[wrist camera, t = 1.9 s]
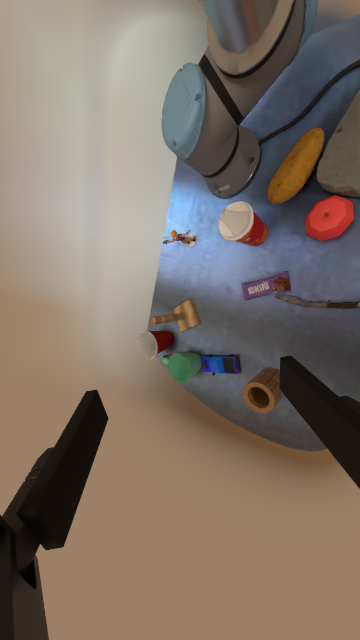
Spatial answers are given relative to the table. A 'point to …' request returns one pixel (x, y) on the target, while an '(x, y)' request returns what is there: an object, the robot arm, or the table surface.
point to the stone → (343, 155)
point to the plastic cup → (154, 342)
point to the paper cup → (242, 224)
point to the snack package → (266, 286)
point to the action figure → (182, 238)
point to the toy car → (221, 364)
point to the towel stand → (180, 316)
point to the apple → (329, 218)
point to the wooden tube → (263, 391)
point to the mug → (183, 365)
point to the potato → (296, 166)
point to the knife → (322, 305)
